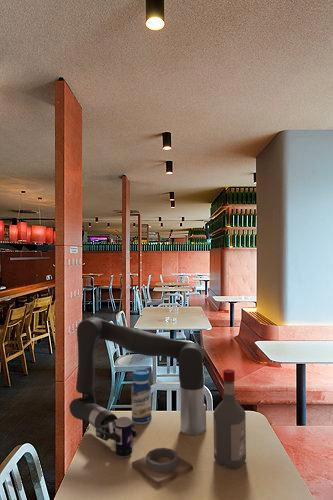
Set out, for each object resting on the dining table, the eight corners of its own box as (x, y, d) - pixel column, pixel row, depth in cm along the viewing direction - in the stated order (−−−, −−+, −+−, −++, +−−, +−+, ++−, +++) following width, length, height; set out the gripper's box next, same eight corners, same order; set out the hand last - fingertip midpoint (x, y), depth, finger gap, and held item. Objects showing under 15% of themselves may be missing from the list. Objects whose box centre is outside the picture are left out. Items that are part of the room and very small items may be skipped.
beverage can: (129, 459, 132) (128, 424, 132) (113, 458, 133) (112, 423, 133) (134, 451, 138) (133, 417, 138) (118, 449, 139) (118, 415, 139)
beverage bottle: (153, 416, 166) (152, 368, 165) (150, 425, 157) (149, 375, 157) (134, 415, 167) (133, 368, 167) (129, 424, 158) (128, 374, 158)
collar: (164, 452, 134) (164, 444, 134) (184, 464, 126) (183, 457, 126) (140, 462, 128) (140, 454, 128) (159, 476, 120) (159, 468, 120)
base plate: (165, 452, 137) (165, 447, 137) (192, 469, 126) (192, 465, 126) (132, 466, 128) (131, 462, 128) (158, 487, 117) (158, 482, 117)
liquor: (248, 458, 132) (247, 369, 131) (237, 471, 124) (235, 377, 124) (223, 450, 137) (222, 365, 137) (211, 463, 129) (210, 372, 129)
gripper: (85, 415, 142) (109, 432, 129) (119, 405, 151) (144, 420, 138) (85, 436, 142) (109, 455, 129) (119, 424, 151) (145, 441, 138)
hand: (127, 437), depth 133 cm, fingers closed on beverage can, 5 cm apart
